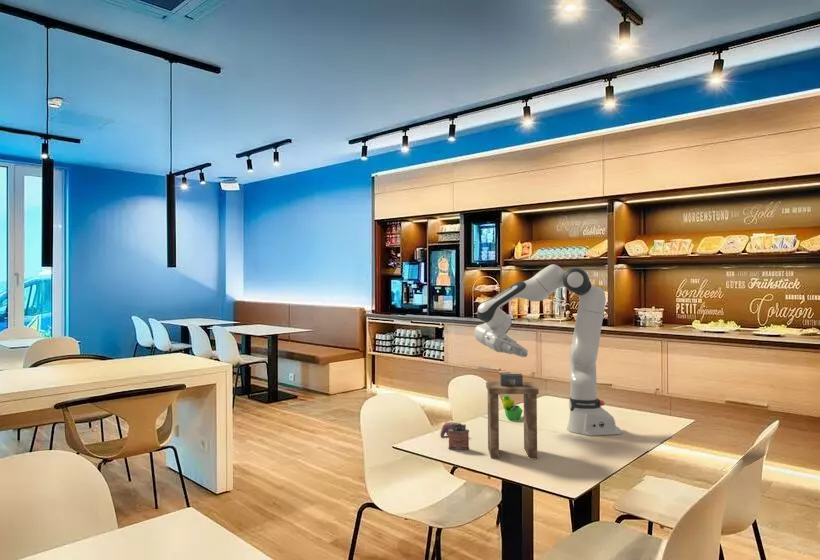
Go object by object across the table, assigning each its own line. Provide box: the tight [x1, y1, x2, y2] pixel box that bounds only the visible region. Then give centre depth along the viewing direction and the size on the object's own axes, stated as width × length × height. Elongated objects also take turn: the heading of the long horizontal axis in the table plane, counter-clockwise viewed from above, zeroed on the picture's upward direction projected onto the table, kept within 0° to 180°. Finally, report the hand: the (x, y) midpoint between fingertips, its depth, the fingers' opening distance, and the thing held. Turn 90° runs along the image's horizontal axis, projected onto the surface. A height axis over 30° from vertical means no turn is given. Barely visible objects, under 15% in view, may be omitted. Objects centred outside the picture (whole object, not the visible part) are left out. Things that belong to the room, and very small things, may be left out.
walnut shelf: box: [485, 381, 539, 460], centre depth 206 cm, size 18×14×26 cm
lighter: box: [448, 422, 470, 451], centre depth 212 cm, size 8×3×10 cm, turn 84°
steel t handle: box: [499, 371, 524, 386], centre depth 214 cm, size 8×18×4 cm, turn 177°
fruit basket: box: [502, 394, 524, 421], centre depth 261 cm, size 11×9×11 cm
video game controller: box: [439, 422, 458, 438], centre depth 230 cm, size 10×5×7 cm, turn 71°
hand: (518, 351), depth 233 cm, fingers open, 8 cm apart
